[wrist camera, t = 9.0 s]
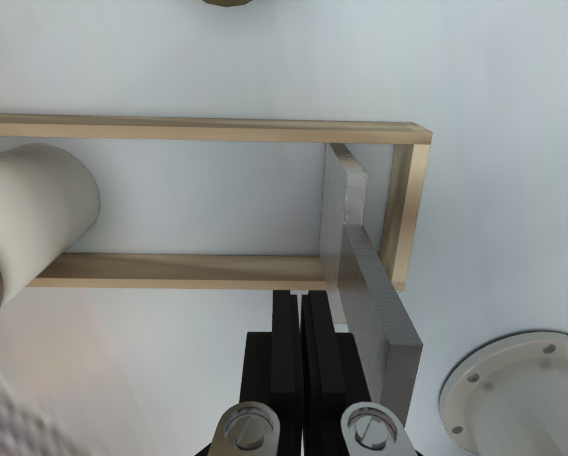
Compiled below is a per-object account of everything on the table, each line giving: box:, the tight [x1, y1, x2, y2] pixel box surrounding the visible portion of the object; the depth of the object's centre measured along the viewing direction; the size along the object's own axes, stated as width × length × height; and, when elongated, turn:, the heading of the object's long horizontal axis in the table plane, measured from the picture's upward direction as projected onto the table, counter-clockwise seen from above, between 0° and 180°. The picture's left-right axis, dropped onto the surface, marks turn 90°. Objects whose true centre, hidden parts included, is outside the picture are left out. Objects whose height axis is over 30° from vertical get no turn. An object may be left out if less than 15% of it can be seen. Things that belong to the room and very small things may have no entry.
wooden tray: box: [0, 114, 433, 291], centre depth 20 cm, size 9×25×5 cm, turn 89°
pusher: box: [319, 143, 423, 428], centre depth 16 cm, size 7×1×14 cm, turn 179°
